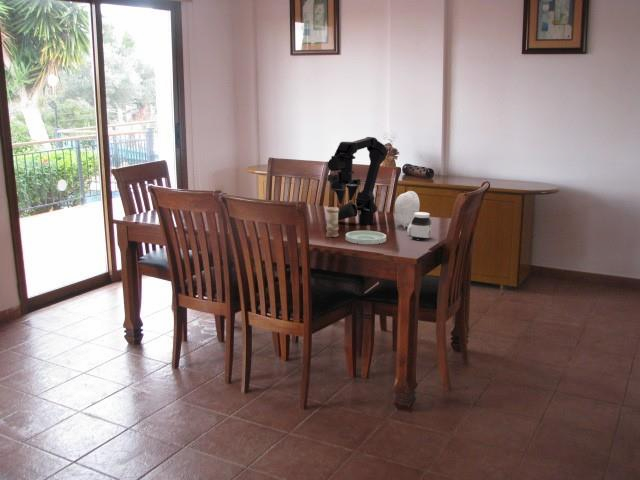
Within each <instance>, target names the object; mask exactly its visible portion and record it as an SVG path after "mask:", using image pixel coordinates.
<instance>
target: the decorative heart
mask: <svg viewBox="0 0 640 480" xmlns="http://www.w3.org/2000/svg"><path fill="white" fill-rule="evenodd" d="M420 205H421V204H420V198H419V195H418V194H417V193H416V191H413V190H407V191H406V192H404V193H401V194H399V195H398V196H397V198H396V199H395V203H394V214H395V217H396V219H397V221H398V222H399V223H400V225H402V226H403V230H405V229H406V228H408V226H409V225H410V224H411V223H412V220H413V218H414V213H416V212H420Z"/></svg>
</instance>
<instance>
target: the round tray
mask: <svg viewBox="0 0 640 480" xmlns="http://www.w3.org/2000/svg"><path fill="white" fill-rule="evenodd" d="M345 241H347V242H349V243H353V244H357V243H358V244H359V245H378V244H379V243H380V244H384V243H386V242H387V234H385V233H383V232H379V231H377V230H376V231H374V230H353V231H348V232H346V233H345Z"/></svg>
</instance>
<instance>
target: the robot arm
mask: <svg viewBox="0 0 640 480" xmlns="http://www.w3.org/2000/svg"><path fill="white" fill-rule="evenodd" d="M363 149H367V151H368V152H369V153H368V157H369V161H370V163H369V166H368V169H367V173H366V177H365V180H364V181H365V182H364V185H363V188H362V190H361V191H358V192H357V190H358V188H359V187H360V186H361V185H362V184H361V180H360V178H355V177H353V174H355V171H354V170H353V162H354V161H353V160H355V159H356V156H355V155H354V154H356V153H358V151H360V150H363ZM387 154H388V149H387V147H386V146H385V145H384V143H382V142H380V141H379V140H378V139H377V138H376V137H373V136H367V137H364V138H362V139H358V140H355V141H340V142H339V144H338V146H337V149H336V150H335V152H334V155H332V156H331V158H330V159H329V160H328V162H327V167H328V169H329V170H330V171H331V172H336V171H337V174H333V173H330V174H328V175H327V181H328V182H329V183H330V189H332V191H334V192H335V194H336V196H337V200H338V203H339V204H343V201H344V198H345V194H346V190H347V191H348V192H347V193H348V194H347V195H348V200H349V202H352V200H353V199H354V195H355V194H356V192H357V196H356V198H355V205H356V207H358V206H361V205H363V204H365V206H362V207H359V208H357V211H360V212H359V214H358V222H359V225H370V226H371V225H374V213H377V211H378V206H377V205H376V203H375V196H374V190H375V185H376V182H377V178H378V174H379V171H380V167H381V164H382V163H384V161H385V160H386V159H387V158H386V157H387ZM346 188H347V189H346Z"/></svg>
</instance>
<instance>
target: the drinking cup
mask: <svg viewBox="0 0 640 480" xmlns="http://www.w3.org/2000/svg"><path fill="white" fill-rule="evenodd" d="M362 206H365V204H363V205H361V206H358V207H357V206H356V203H354V202H353V201H349V202H348V203H345V204H344V205H342V206H339V207H337V208H338V209H339V212H338V221H341V220H345V219H348V218H349V219H350V218H353V217H357V216H358V215H359V214H358V210H357V208H359V207H362Z"/></svg>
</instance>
